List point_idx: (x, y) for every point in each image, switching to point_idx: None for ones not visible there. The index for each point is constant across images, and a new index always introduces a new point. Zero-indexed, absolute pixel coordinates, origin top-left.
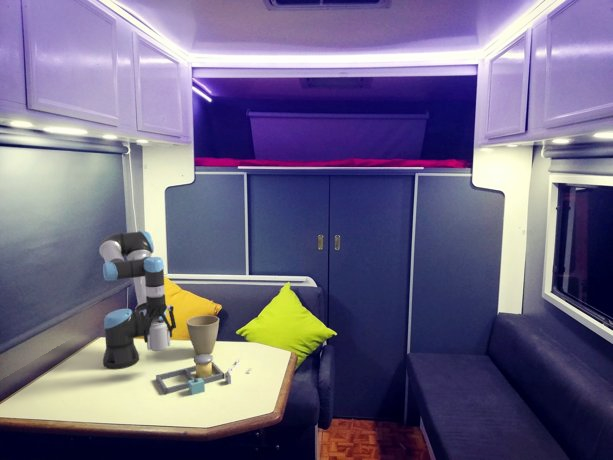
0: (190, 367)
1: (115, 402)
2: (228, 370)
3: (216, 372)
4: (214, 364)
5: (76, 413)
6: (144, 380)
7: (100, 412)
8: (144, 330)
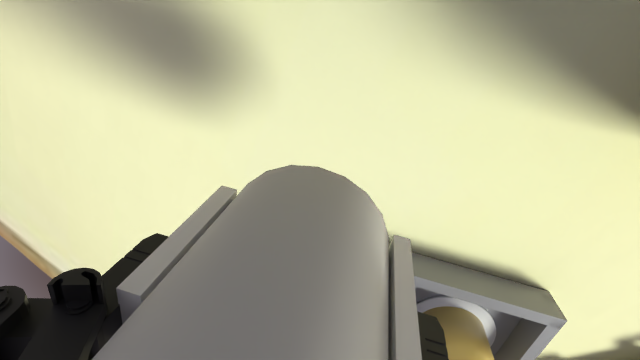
0: (438, 288)
1: (123, 230)
2: None
3: (502, 353)
4: (540, 346)
5: (14, 200)
6: (251, 158)
7: (79, 247)
8: (38, 349)
